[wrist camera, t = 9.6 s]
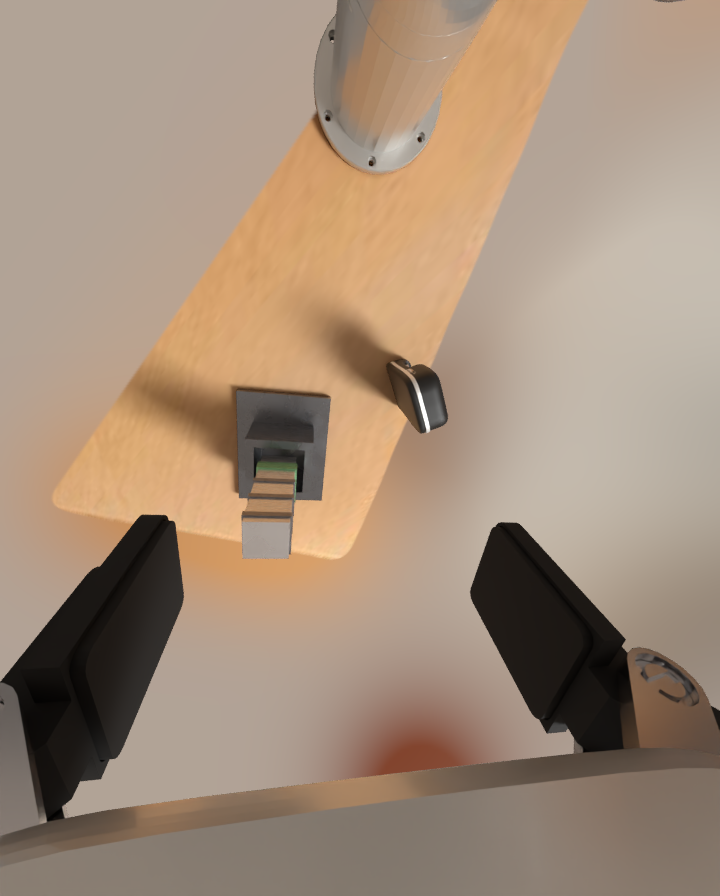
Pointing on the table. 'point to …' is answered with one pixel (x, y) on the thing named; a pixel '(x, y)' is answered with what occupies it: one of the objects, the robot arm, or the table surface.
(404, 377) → the battery charger
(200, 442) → the table surface
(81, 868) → the robot arm
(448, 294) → the table surface
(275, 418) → the stand
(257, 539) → the column
